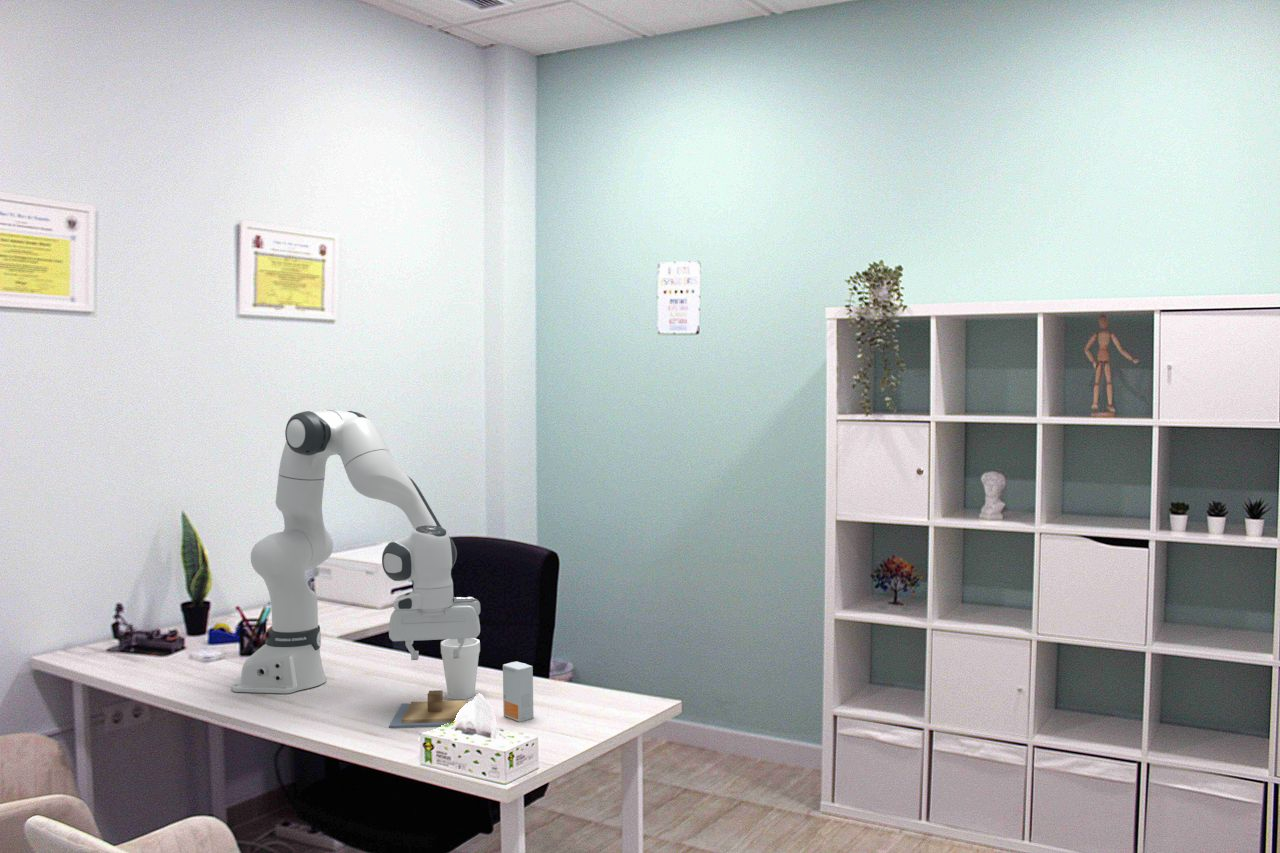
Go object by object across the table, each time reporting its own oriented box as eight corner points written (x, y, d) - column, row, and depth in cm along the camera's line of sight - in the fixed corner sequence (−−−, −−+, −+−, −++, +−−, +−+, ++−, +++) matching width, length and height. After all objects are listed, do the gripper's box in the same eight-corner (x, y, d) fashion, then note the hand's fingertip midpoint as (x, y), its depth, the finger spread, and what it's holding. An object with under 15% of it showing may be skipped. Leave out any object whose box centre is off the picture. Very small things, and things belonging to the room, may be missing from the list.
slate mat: (388, 727, 235) (388, 725, 235) (401, 705, 251) (401, 703, 251) (471, 725, 236) (471, 723, 236) (479, 703, 252) (479, 701, 252)
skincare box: (502, 716, 242) (501, 664, 242) (517, 712, 245) (516, 660, 245) (519, 722, 238) (518, 669, 237) (534, 718, 241) (533, 665, 240)
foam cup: (433, 698, 257) (432, 644, 256) (457, 687, 265) (456, 635, 265) (465, 703, 253) (464, 648, 252) (488, 692, 261) (487, 639, 260)
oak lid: (401, 723, 237) (401, 701, 237) (411, 705, 250) (411, 684, 250) (460, 721, 238) (460, 700, 237) (467, 703, 251) (467, 683, 250)
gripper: (481, 593, 246) (483, 653, 247) (391, 597, 245) (393, 656, 246) (478, 599, 240) (480, 660, 240) (386, 602, 239) (388, 664, 240)
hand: (435, 658), depth 243 cm, fingers open, 8 cm apart
